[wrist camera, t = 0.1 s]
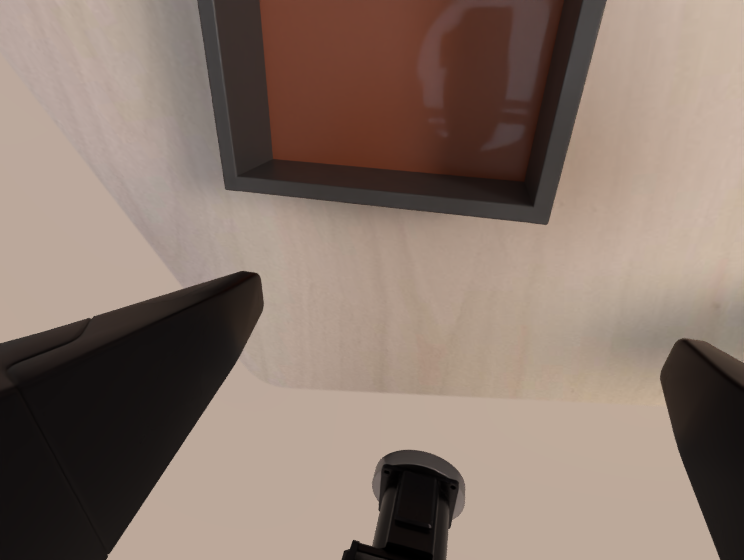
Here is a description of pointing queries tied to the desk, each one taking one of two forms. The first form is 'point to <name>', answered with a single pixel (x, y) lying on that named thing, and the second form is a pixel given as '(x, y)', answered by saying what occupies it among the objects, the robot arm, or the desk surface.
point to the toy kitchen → (400, 99)
